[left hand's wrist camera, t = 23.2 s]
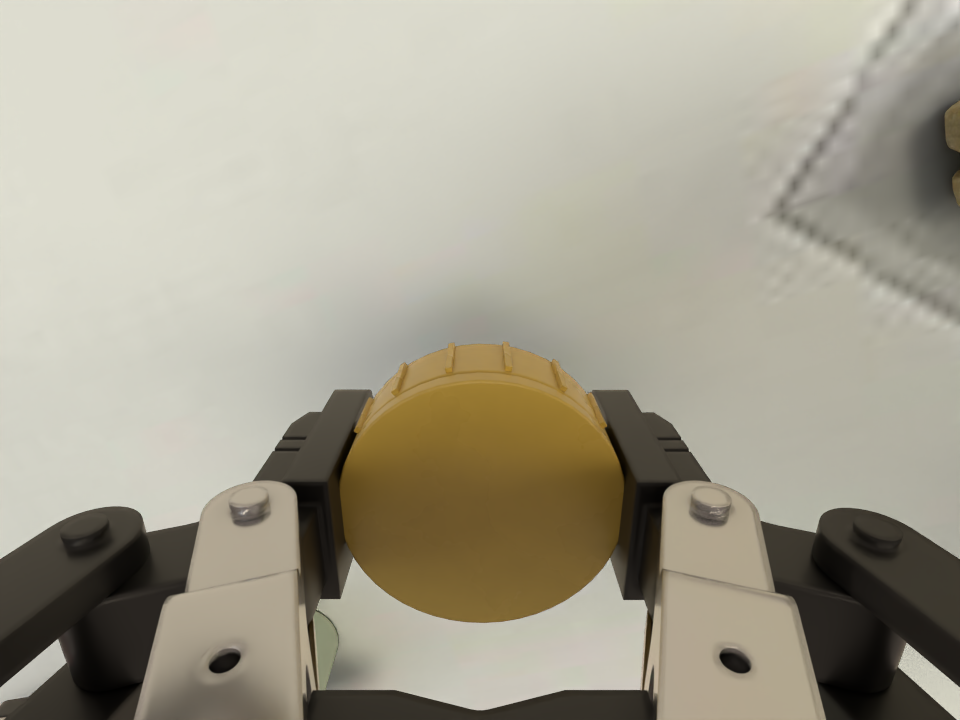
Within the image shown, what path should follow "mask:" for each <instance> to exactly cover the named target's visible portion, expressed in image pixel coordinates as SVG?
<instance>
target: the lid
mask: <svg viewBox="0 0 960 720" xmlns="http://www.w3.org/2000/svg"><path fill="white" fill-rule="evenodd" d="M605 427H607V425H606V422H605V420H604V418H603V416H602V413H601V411H600V409H599V407H598V405H597V402H596V400H595V398H594V396H593V394H592V393H591V392H590V393H589V394H586V392H585V391H584V390H583V388H582V387H581V386H580V385H579V384H578V383H577V382H576V381H575V380H574V379H573V378H572V377H571V376H570V375H568V374H567V373H566V372H565V371H563V370H562V369H561V368H560V365H559V362H558V361H556V360H555V359H553V360H552V362H550V361H548V360H546V359H544V358H542V357H540V356H537V355H535V354H533V353H531V352H527V351H524V350H521V349H517V348H514V347H510V346H509V342H503V344H502V345H495V344H471V345H460V346H456V347H455V343H450V344H448V348H446V349H442V350H440V351H437V352H434V353H431V354H428V355H426V356H424V357H422V358H420V359H418V360H416V361H414V362H412V363H411V364H409V365H407V364H406V363H405V362H404V363H403V364H401V365H400V368H399V370H398V373H396V374H395V375H394V376H393V377H392V378H391V379H390V380H389V381H387V382H386V384H385V385H384V386H383V387H382V388H381V389H380V391H379V392H378V393H377V394H376V396H375V397H374V399H372V398H371V397H369V398H368V400H367V402H366V404H365V406H364V409H363V411H362V413H361V416H360V418H359V420H358V422H357V425H356V427H355V429H354V432H356V433H357V435H356V437H355V440H354V442H353V444H352V447H351V449H350V452H349V454H348V456H347V459H346V461H345V463H344V466H343V469H342V473H341V477H340V480H339V487H340V498H341V507H342V517H343V526H344V535H345V541H346V543H347V546H348V548H349V550H350V551H351V553H352V555H353V557H354V559H355V560H356V562H357V563H358V564H359V566H360V567H361V568H362V570H363V571H364V572H365V573H366V574H367V575H368V576H369V577H370V578H371V579H372V581H373V582H374V583H375V584H377V585H378V586H379V587H380V588H382V589H383V590H384V591H385V592H387V593H388V594H389V595H391V596H392V597H394V598H395V599H397V600H399V601H400V602H402V603H404V604H406V605H408V606H410V607H412V608H414V609H416V610H418V611H421V612H424V613H427V614H430V615H433V616H436V617H440V618H445V619H449V620H455V621H462V622H477V623H489V622H503V621H508V620H514V619H520V618H523V617H527V616H531V615H534V614H537V613H540V612H542V611H545V610H547V609H550V608H552V607H554V606H556V605H558V604H560V603H562V602H563V601H565V600H567V599H568V598H570V597H571V596H573V595H574V594H576V593H577V592H579V591H580V590H581V589H582V588H584V587H585V586H586V585H587V584H588V583H589V582H590V581H592V580H593V578H594V577H595V576H596V575H597V574H598V573H599V572H600V571H601V569H602V568H603V567H604V566H605V564H606V563H607V561H608V560H609V558H610V557H611V555H612V553H613V551H614V549H615V547H616V545H617V543H618V538H619V530H620V520H621V511H622V502H623V493H624V475H623V472H622V469H621V466H620V462H619V460H618V458H617V455H616V453H615V451H614V448H613V446H612V444H611V442H610V439H609V437H608V435H607V432H606V430H605Z"/></svg>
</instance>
